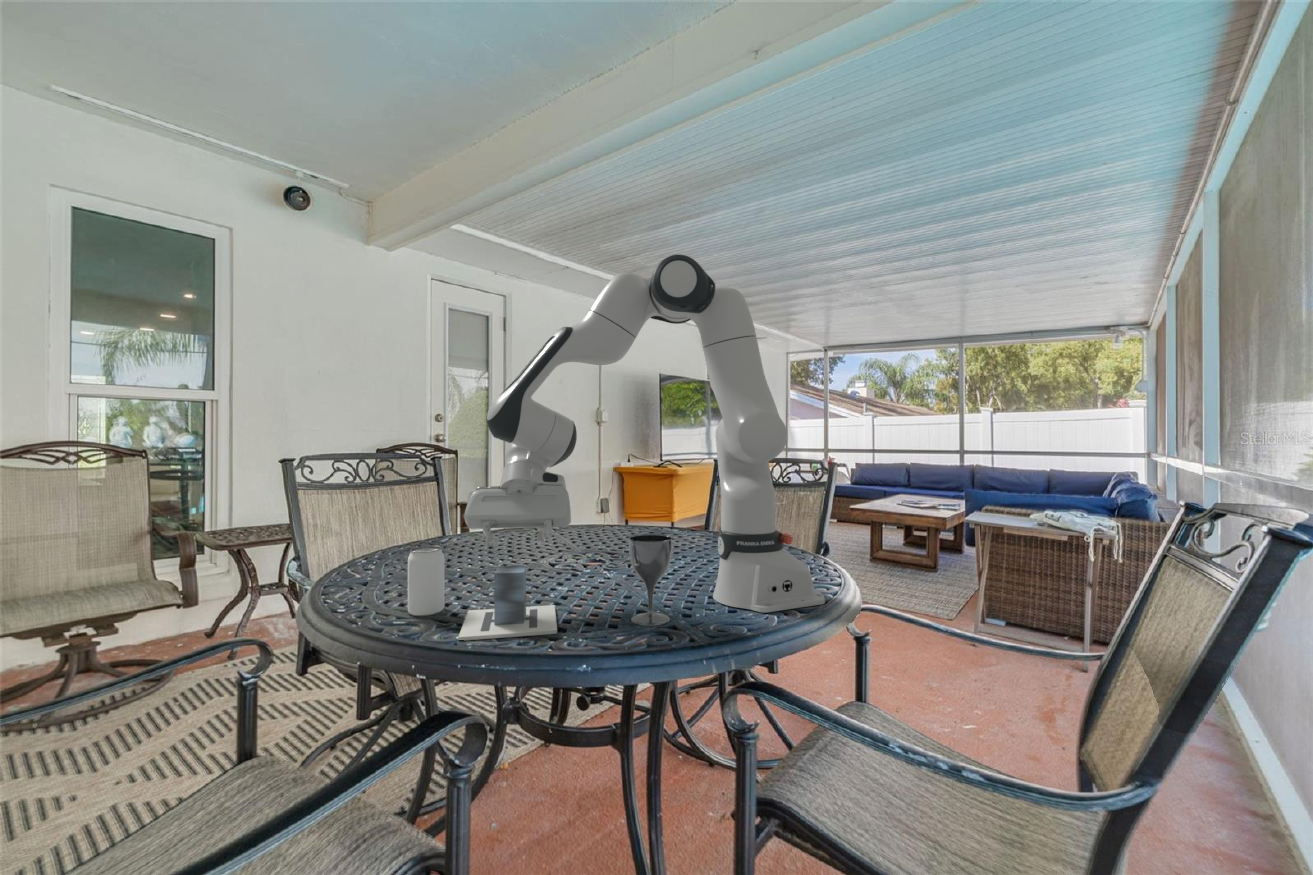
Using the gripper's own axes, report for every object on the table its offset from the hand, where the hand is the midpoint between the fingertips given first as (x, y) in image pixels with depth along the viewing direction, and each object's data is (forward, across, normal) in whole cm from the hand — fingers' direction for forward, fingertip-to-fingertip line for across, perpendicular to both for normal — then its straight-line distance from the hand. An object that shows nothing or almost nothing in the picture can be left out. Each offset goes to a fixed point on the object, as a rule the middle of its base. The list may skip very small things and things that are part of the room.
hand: (515, 544), depth 105 cm
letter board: (+13, 0, +6) cm, 14 cm away
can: (+7, -17, +12) cm, 22 cm away
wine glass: (+13, +25, +6) cm, 29 cm away
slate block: (+12, 0, +6) cm, 13 cm away
